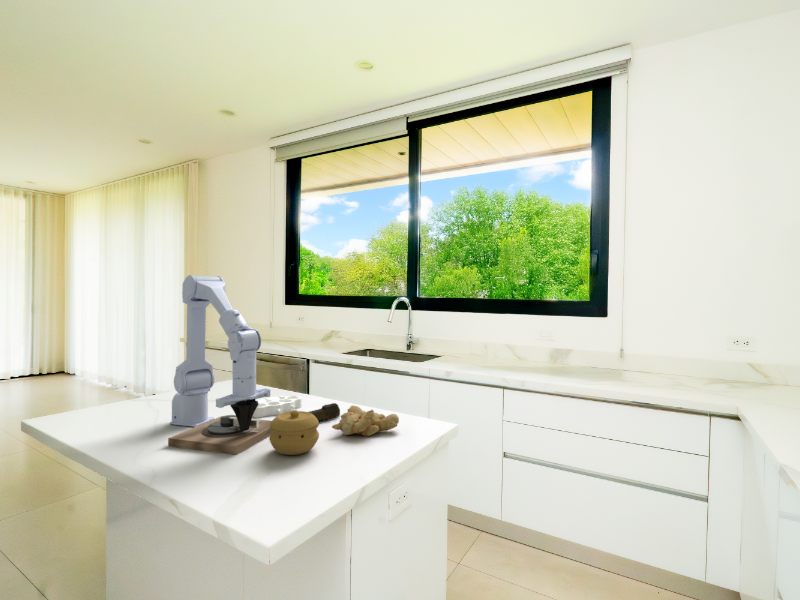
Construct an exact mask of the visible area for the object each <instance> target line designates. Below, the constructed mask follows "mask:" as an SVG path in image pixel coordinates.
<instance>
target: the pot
mask: <svg viewBox="0 0 800 600" xmlns="http://www.w3.org/2000/svg"><path fill="white" fill-rule="evenodd" d="M309 412H310V411H303V410H302V411H301V410H297V409H294V410H293V411H290V412H285V413H282V414H278V415H277V416H275V417H274V418H273V419H272V420H271V421H272V422H271V424H270V430H271V431H272V434H271V435H270V436H269V439H268V440H269V442H270V445H271V447H272V448H273V449H274V450H275V451H276V452H278V454H281V455H287V456H294V455H295V456H296V455H301V454H304V453H307V452H309V451H311V449H313V448H314V446H315V445H316V443H317V442H318V439H319V438H320V433H319V431H318V427H319V426H320V425H319V423H320V422H319V421H320V420H319V421H318V419H317V418H316V417H315V416H314V415H313V414H311V413H309Z"/></svg>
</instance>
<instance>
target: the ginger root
mask: <svg viewBox="0 0 800 600" xmlns="http://www.w3.org/2000/svg"><path fill="white" fill-rule="evenodd" d="M399 419H400V417H399V416H398V414H396V413H391V414H388V415H387V416H385V414H383V413H378V412H375V410H374V409H370V410H367V411H365V410H363V409H362V408H361V407H360V406H357V405H351V406H349V407H348V408H347V412H344V413H343V414H340V420H339V422H338V423H335V424H332V426H331V428H332V429H333V430H337V431H338V430H339V431H340V432H342V434H344V435H345V436H350V435H353V434H357V435H362V436H364V437H370V436H372V435H374V434H376V433H378V432H384V431H385V432H387V431H390V430H392V429H394V428H396V427H398V424H399V423H400V421H399Z"/></svg>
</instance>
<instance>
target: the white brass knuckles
mask: <svg viewBox="0 0 800 600" xmlns="http://www.w3.org/2000/svg"><path fill="white" fill-rule="evenodd" d="M302 400H303V398H302V397H301V396H299V395H290V396H287V395H286V396H284V395H276V396H272V397H264V398H261V399H258V400H257V401H258V406H257V408H256V410H255V412H254V414H253V416H254V417H253V418H264V417H267V416H268V415H269V416H276V415H277V416H278V415H280V414H282V413H286V412H291V411H293V410H297V409H301V408H302V407H303V406H302V405H303V401H302Z"/></svg>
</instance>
